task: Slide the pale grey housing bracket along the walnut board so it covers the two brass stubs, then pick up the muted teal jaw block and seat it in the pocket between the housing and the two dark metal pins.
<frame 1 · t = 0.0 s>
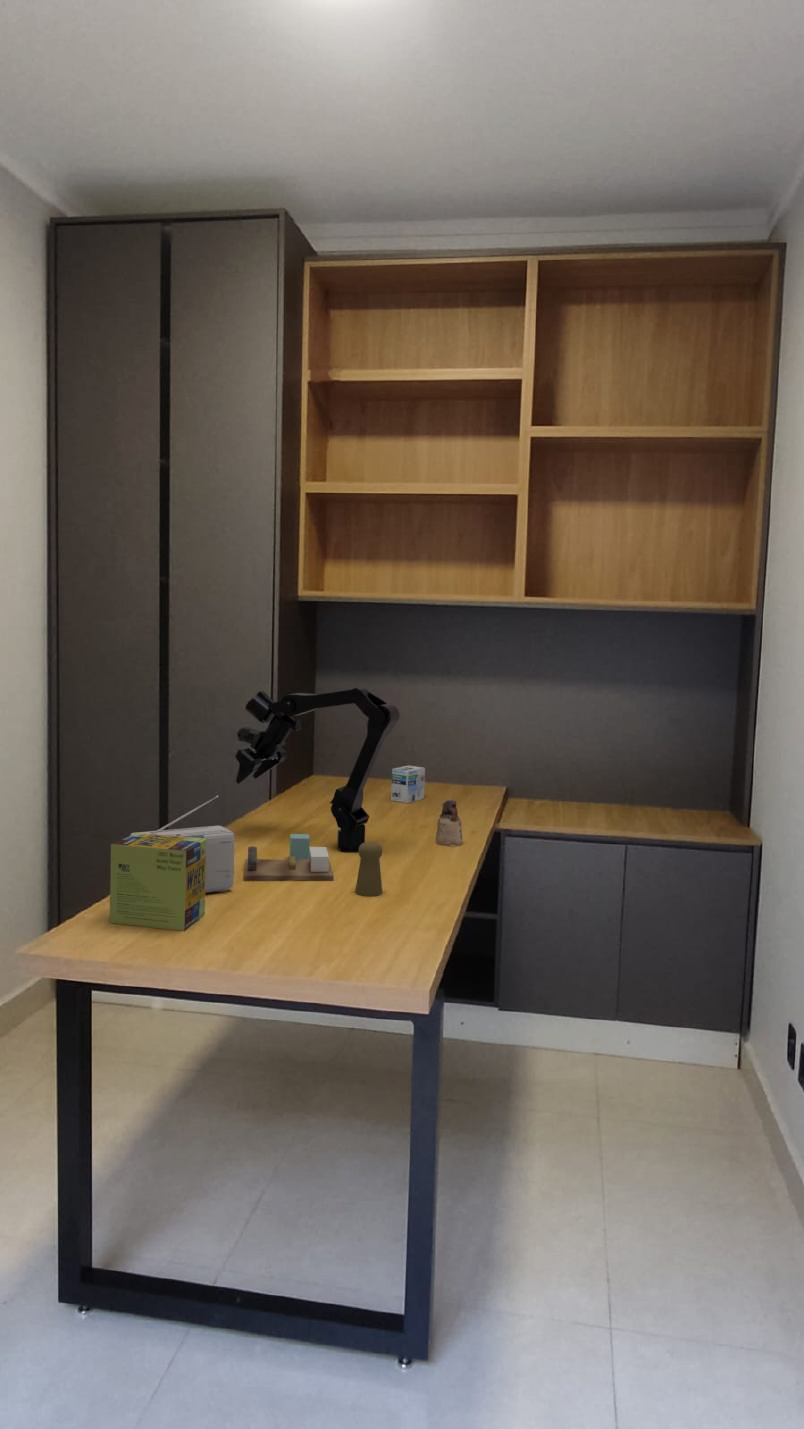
hand: (246, 780, 253), 15 cm above the table, tool tilted 35°, fingers open, 9 cm apart
protein box: (158, 920, 183), on the table
jaw block: (299, 860, 231), on the table
stereo radio cassette player: (181, 894, 200), on the table
light bulb box: (407, 800, 313), on the table
figurine: (448, 843, 255), on the table
board: (288, 872, 220), on the table
olive pepper mill: (368, 893, 207), on the table
housing: (318, 859, 220), point 3 cm above the table, slide at 0.0 cm
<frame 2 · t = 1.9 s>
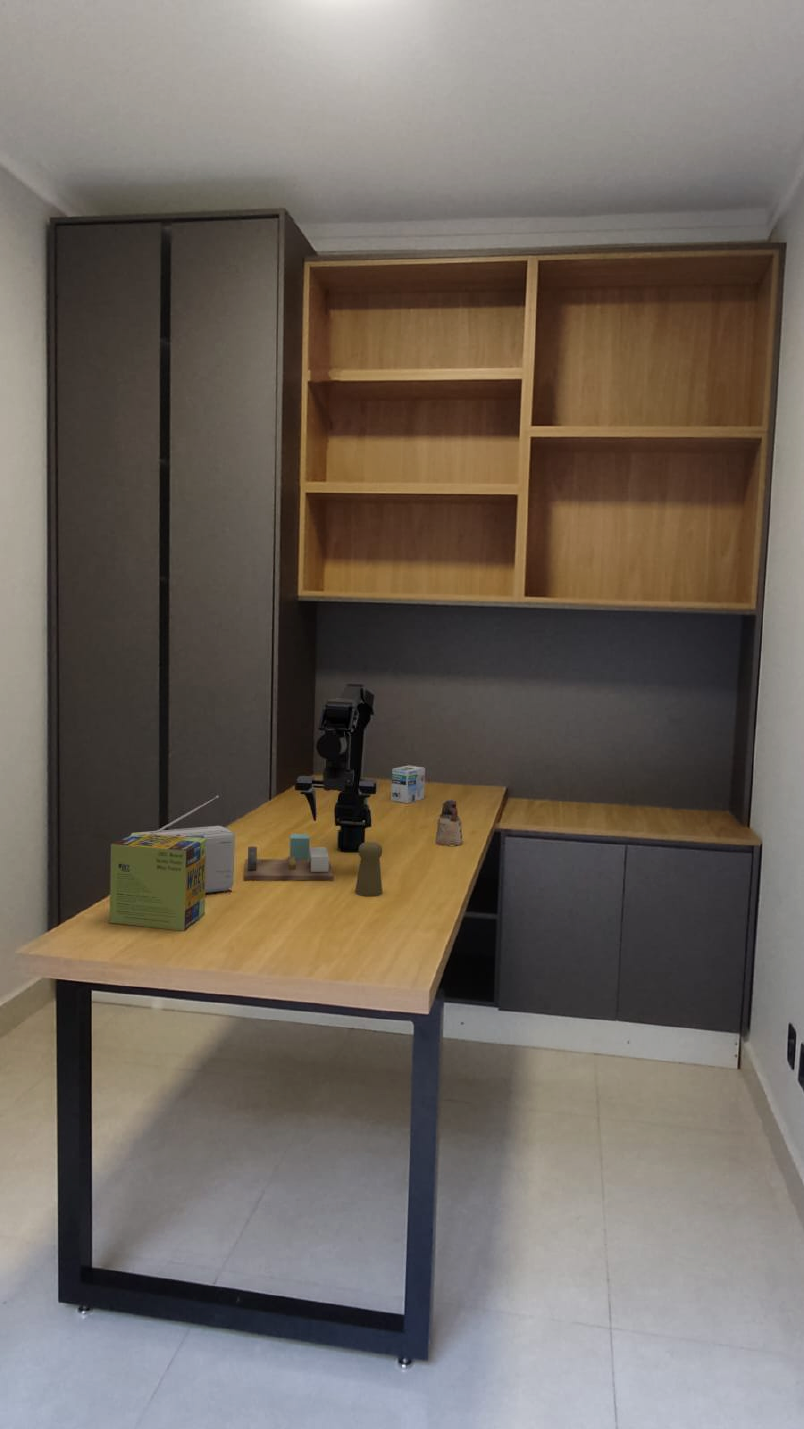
hand: (334, 821, 220), 12 cm above the table, tool pointing down, fingers open, 9 cm apart
nothing on the table moved.
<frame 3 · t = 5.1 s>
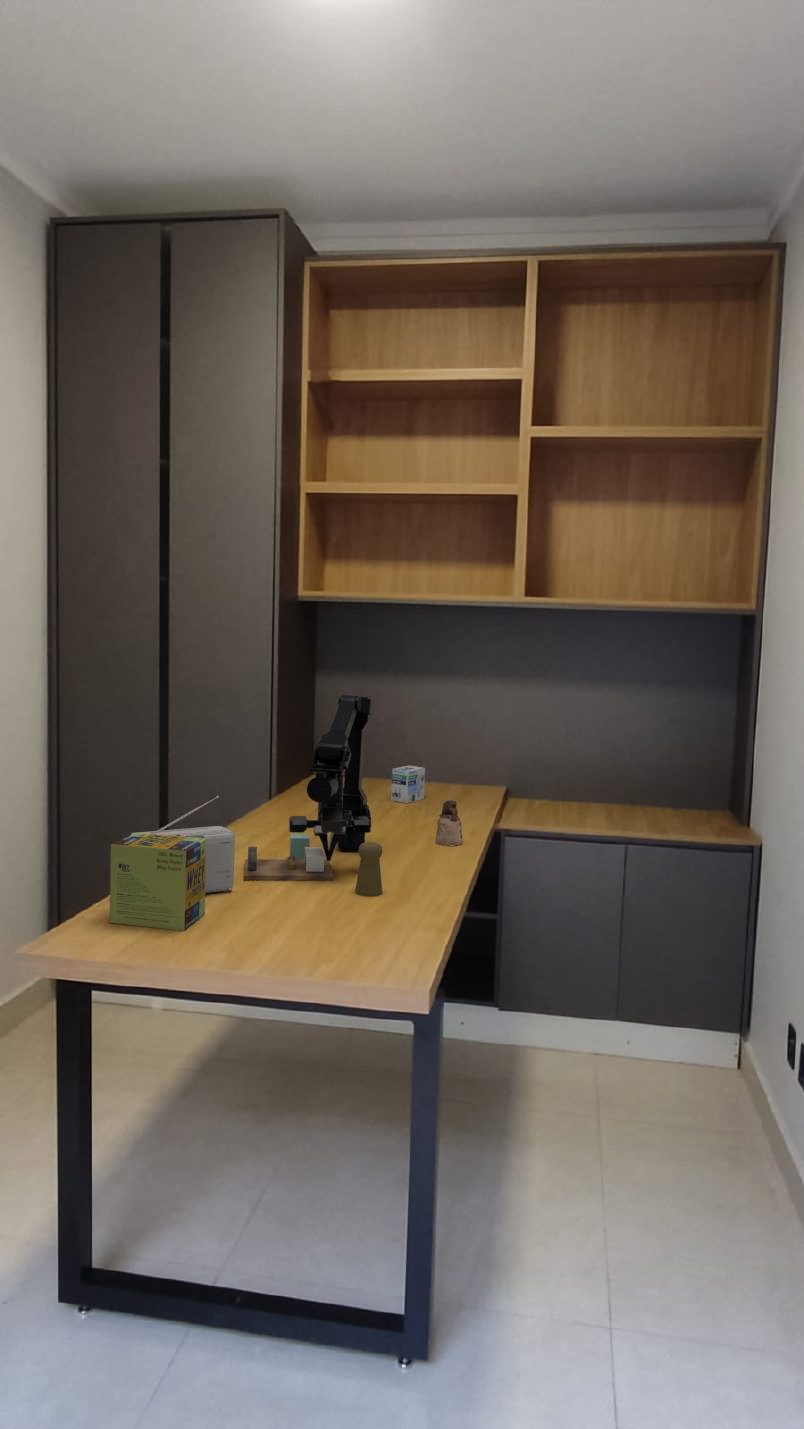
hand: (328, 860, 221), 3 cm above the table, tool pointing down, fingers closed
housing: (314, 859, 220), point 3 cm above the table, slide at 1.1 cm, touching gripper
everything else where it was.
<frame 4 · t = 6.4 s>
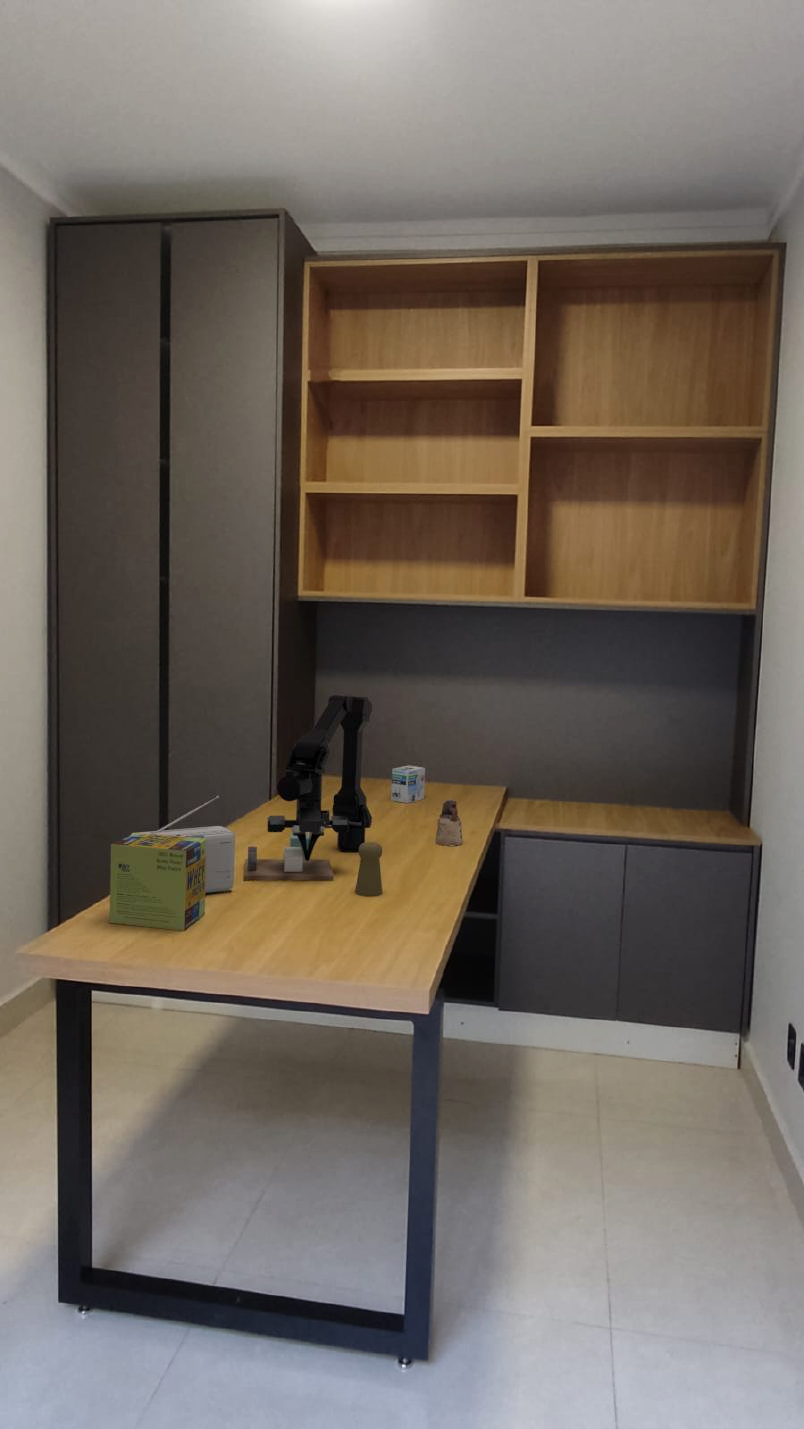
hand: (307, 860, 220), 3 cm above the table, tool pointing down, fingers closed
housing: (292, 859, 219), point 3 cm above the table, slide at 6.0 cm, touching gripper
everything else where it was.
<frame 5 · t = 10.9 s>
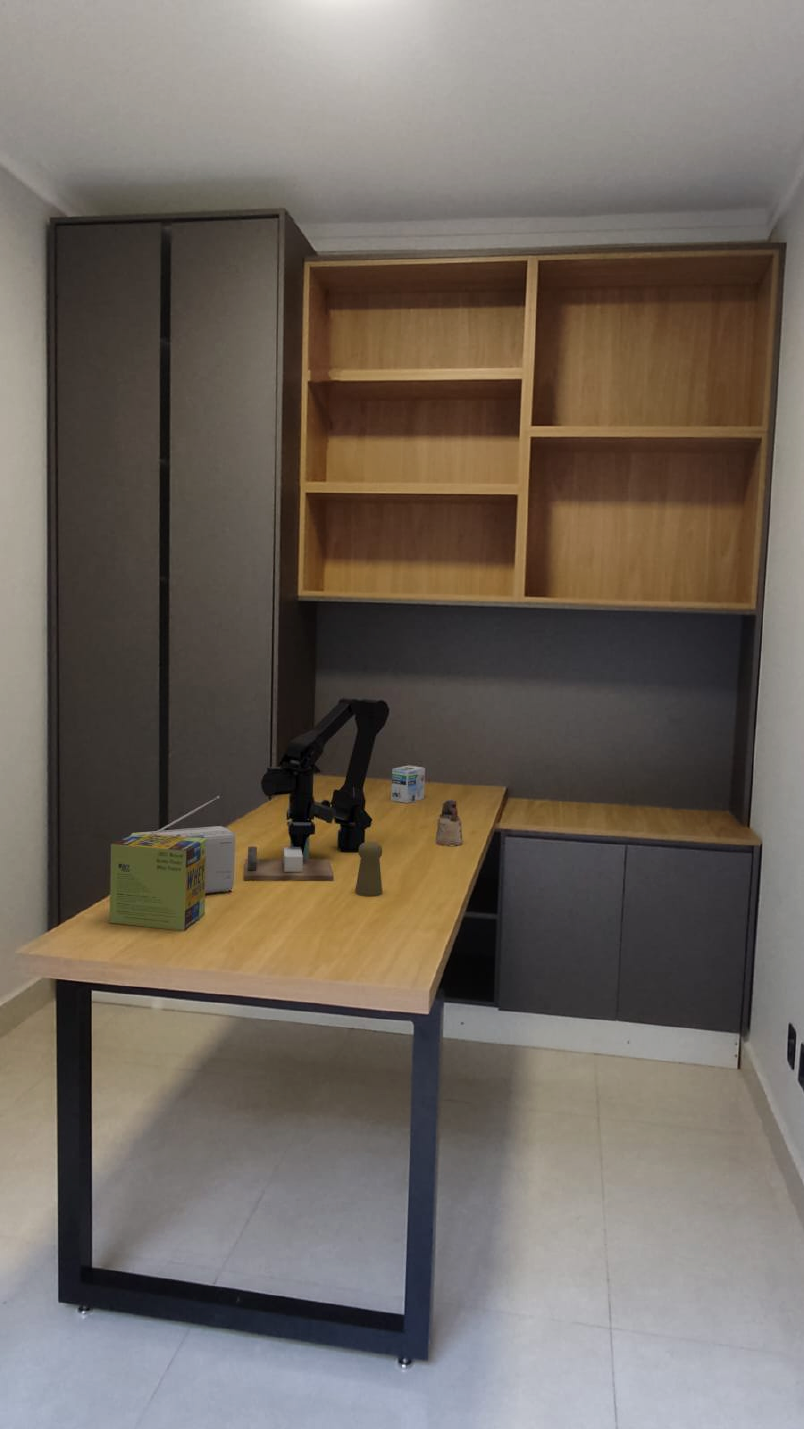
hand: (299, 855, 231), 1 cm above the table, tool pointing down, fingers closed on jaw block, 4 cm apart
jaw block: (299, 860, 231), on the table, touching gripper
housing: (292, 859, 219), point 3 cm above the table, slide at 6.0 cm
everything else where it was.
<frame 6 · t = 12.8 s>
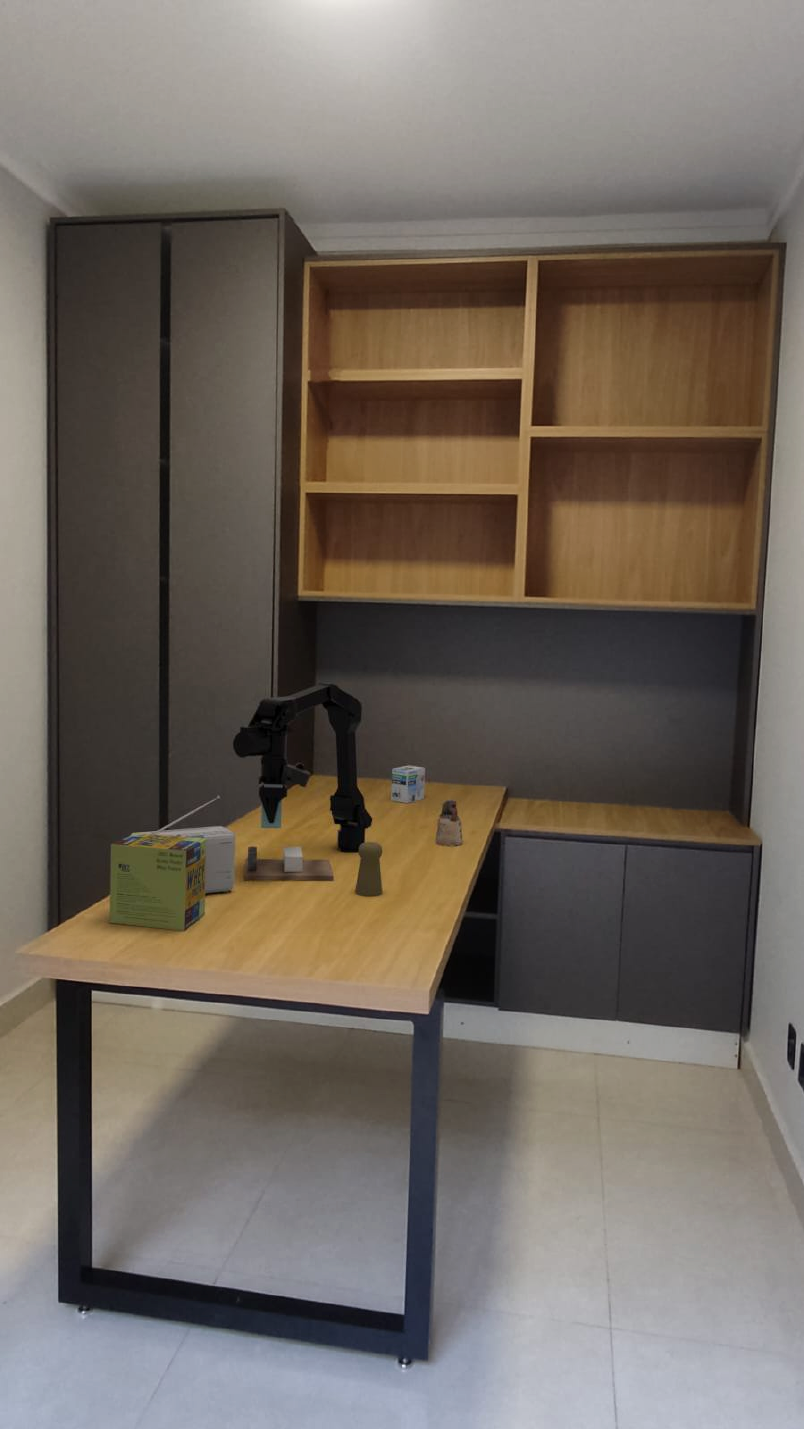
hand: (271, 820, 218), 12 cm above the table, tool pointing down, fingers closed on jaw block, 4 cm apart
jaw block: (270, 825, 218), point 11 cm above the table, touching gripper
everything else where it was.
when the fingers open (3 cm above the table, at t = 14.7 s): jaw block stays where it is, resting on board.
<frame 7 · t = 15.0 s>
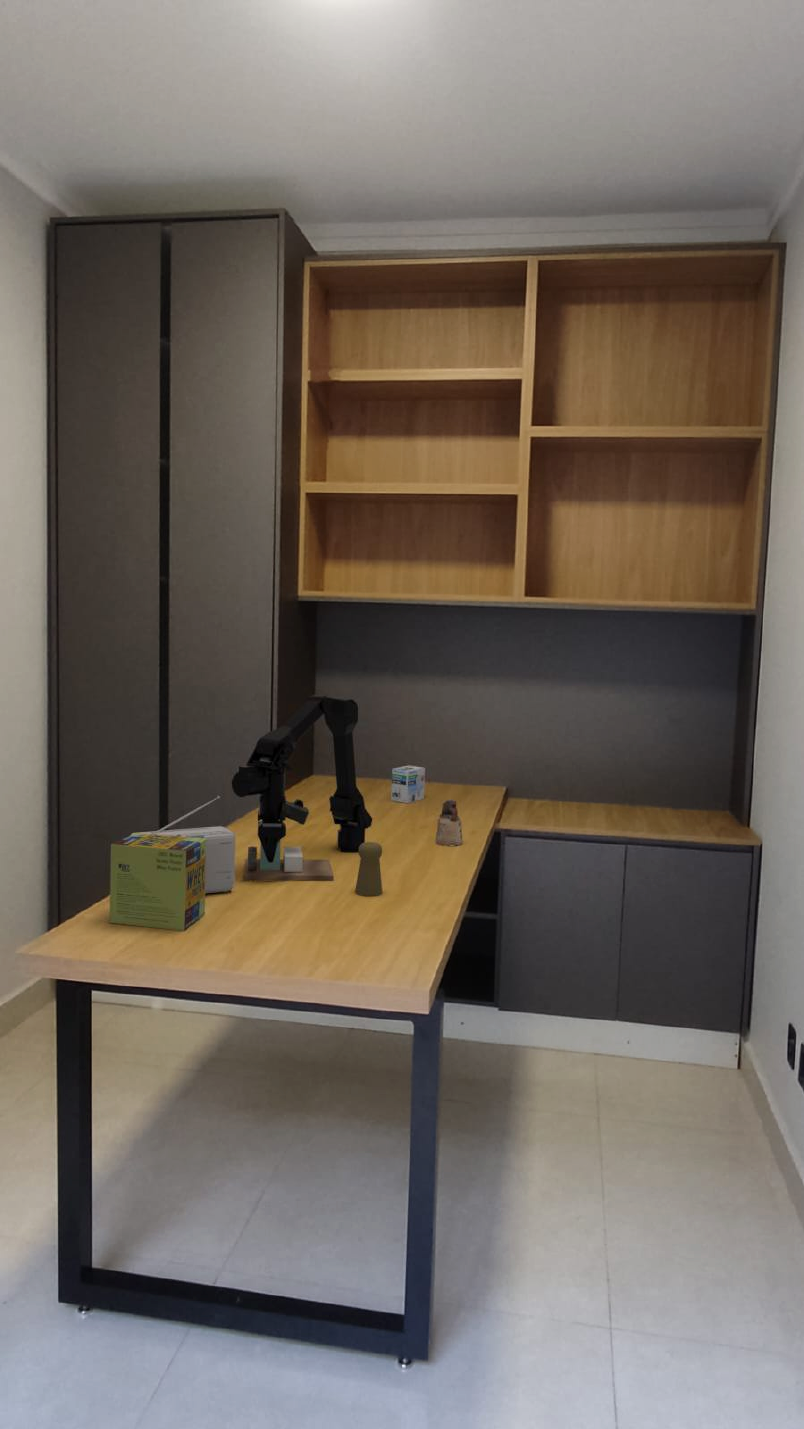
hand: (270, 857, 219), 3 cm above the table, tool pointing down, fingers open, 7 cm apart
jaw block: (269, 867, 219), point 1 cm above the table, touching board
everything else where it was.
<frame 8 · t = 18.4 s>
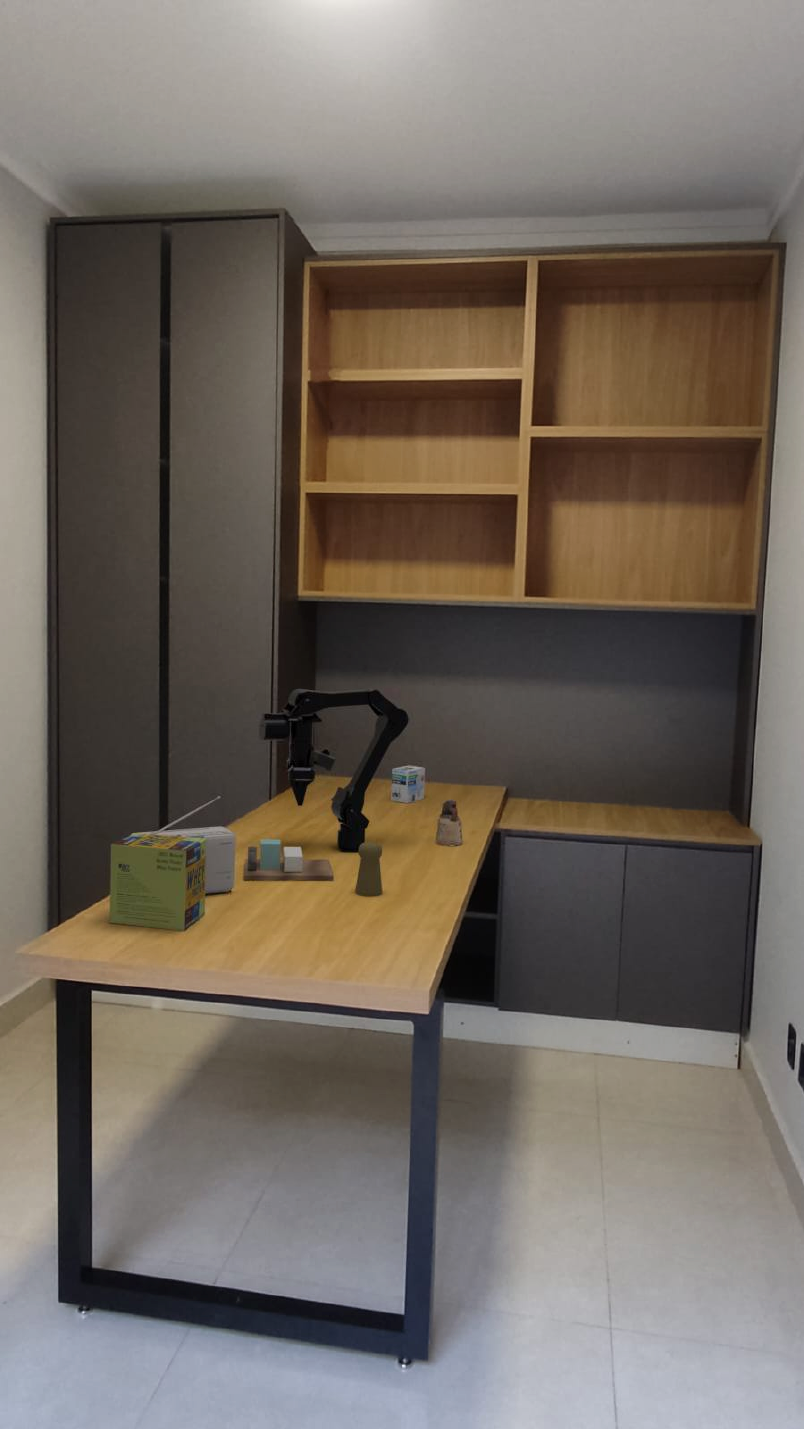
hand: (299, 801, 236), 13 cm above the table, tool pointing down, fingers open, 9 cm apart
nothing on the table moved.
at the end: housing slide at 6.0 cm; jaw block 0.3 cm from the target spot, point 1.2 cm above the table; jaw block tilted 0° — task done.
